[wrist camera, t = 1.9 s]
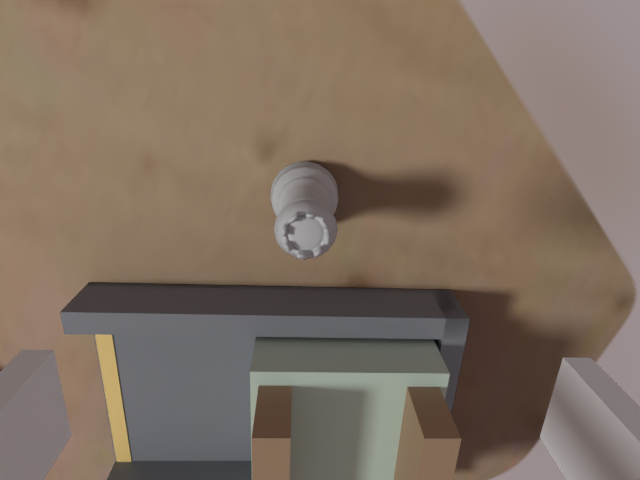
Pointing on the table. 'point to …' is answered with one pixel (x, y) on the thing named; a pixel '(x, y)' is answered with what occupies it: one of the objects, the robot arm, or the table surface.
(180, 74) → the table surface
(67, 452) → the table surface
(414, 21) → the table surface
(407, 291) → the bay
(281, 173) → the rook chess piece
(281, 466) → the mint green base plate
